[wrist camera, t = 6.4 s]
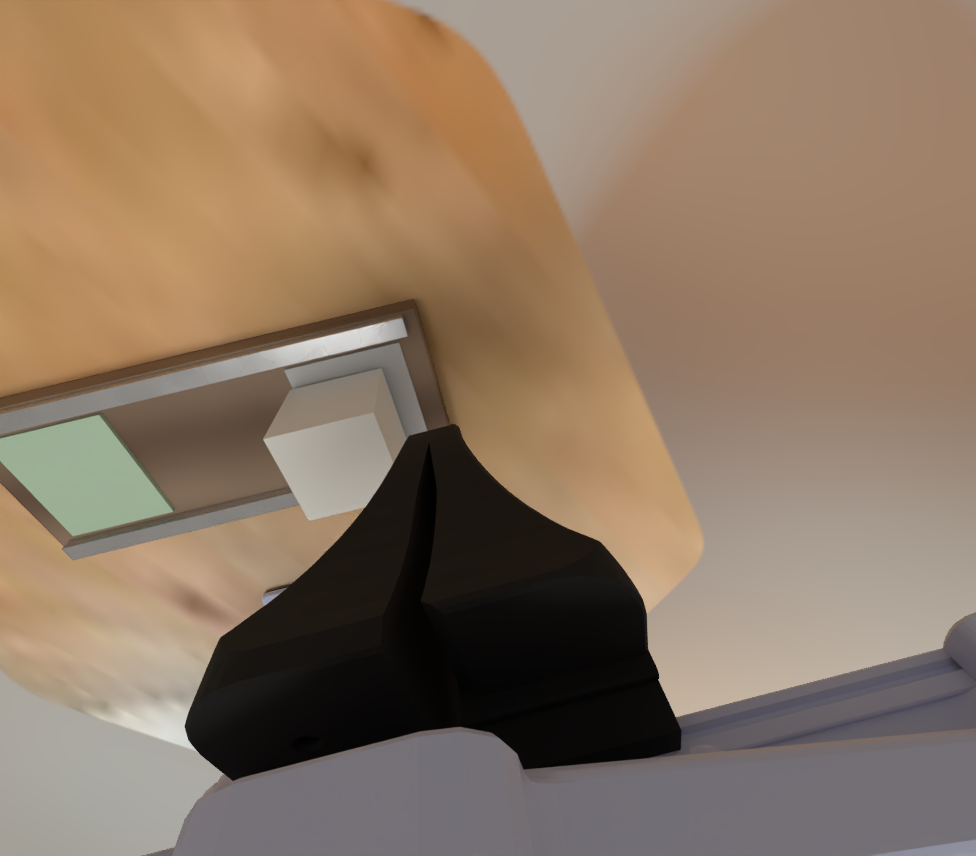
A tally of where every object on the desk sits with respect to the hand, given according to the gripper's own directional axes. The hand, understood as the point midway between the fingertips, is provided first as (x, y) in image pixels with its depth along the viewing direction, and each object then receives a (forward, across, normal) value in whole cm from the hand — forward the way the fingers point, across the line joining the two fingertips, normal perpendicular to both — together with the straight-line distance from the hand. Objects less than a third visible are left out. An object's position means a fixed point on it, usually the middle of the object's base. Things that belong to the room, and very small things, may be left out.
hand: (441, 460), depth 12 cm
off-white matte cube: (+8, +4, +2) cm, 10 cm away
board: (+10, +10, +2) cm, 15 cm away
